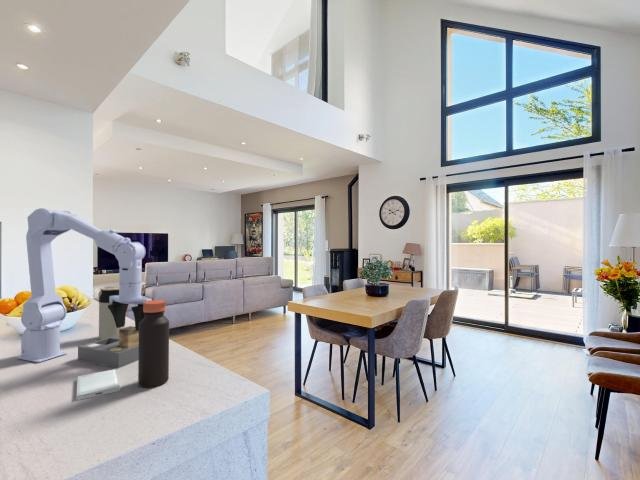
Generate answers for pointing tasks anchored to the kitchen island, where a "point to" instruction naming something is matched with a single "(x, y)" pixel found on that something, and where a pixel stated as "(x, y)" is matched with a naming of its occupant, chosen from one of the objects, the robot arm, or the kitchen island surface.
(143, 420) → the kitchen island surface
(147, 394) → the kitchen island surface
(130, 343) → the plug
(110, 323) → the travel mug
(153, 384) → the bottle
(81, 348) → the socket block
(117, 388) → the hard drive
